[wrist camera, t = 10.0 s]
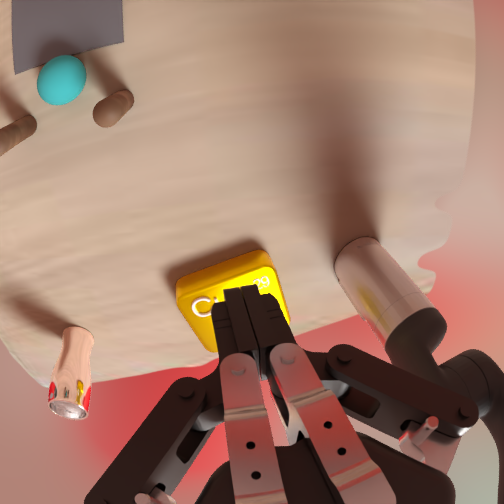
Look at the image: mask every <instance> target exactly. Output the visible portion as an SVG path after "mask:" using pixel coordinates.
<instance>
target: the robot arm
mask: <svg viewBox="0 0 504 504" xmlns="http://www.w3.org/2000/svg"><path fill="white" fill-rule="evenodd" d="M335 273H336V275H337V277H338V278H339V284H340V285H341V287H342V289H343V290H344V292H345V293H346V295H347V296H348V298H349V299H350V301H351V302H352V304H353V305H354V307H355V309H356V310H357V312H358V313H359V315H360V316H361V318H362V319H363V320H366V321H367V323H368V324H369V326H370V327H371V329H372V331H373V332H374V333H375V335H376V337H377V338H378V340H379V341H380V343H381V345H382V346H383V348H384V350H385V351H386V353H387V354H388V356H389V358H390V360H391V363H392V364H390V363H387V362H385V361H383V360H381V359H379V358H377V357H374V356H372V355H370V354H368V353H366V352H363V351H361V350H359V349H357V348H355V347H353V346H351V345H347V344H340V345H336V346H334V347H332V348H331V349H330V350H329V352H328V353H321V352H310V351H306V350H304V349H302V348H301V347H300V346H299V345H298V344H297V343H296V341H295V339H294V336H293V334H292V332H291V329H290V327H289V325H288V322H287V320H286V318H285V316H284V313H283V311H282V309H281V306H280V304H279V301H278V299H277V298H276V297H274V296H273V295H272V294H271V293H265V294H260V291H259V289H258V286H257V284H256V283H255V284H250V285H245V286H240V287H234V288H228V289H223V293H224V300H225V301H222V302H216V303H214V304H213V306H212V309H211V318H212V323H213V328H214V333H215V339H216V344H217V349H218V354H219V364H218V366H217V368H216V369H215V371H214V372H213V373H211V374H210V375H208V376H206V377H204V378H202V379H200V380H198V379H196V378H192V377H184V378H180V379H178V380H176V381H175V382H174V383H173V384H172V385H171V386H170V388H169V389H168V390H167V391H166V393H165V394H164V395H163V397H162V398H161V399H160V401H159V402H158V403H157V405H156V406H155V407H154V409H153V410H152V411H151V413H150V414H149V415H148V416H147V418H146V419H145V420H144V422H143V423H142V424H141V426H140V427H139V428H138V430H137V431H136V432H135V434H134V435H133V436H132V438H131V439H130V440H129V441H128V443H127V444H126V445H125V447H124V448H123V449H122V450H121V452H120V453H119V454H118V456H117V457H116V458H115V460H114V461H113V462H112V464H111V465H110V466H109V467H108V469H107V470H106V471H105V473H104V474H103V475H102V477H101V478H100V479H99V480H98V482H97V483H96V484H95V485H94V487H93V488H92V489H91V490H90V492H89V493H88V494H87V496H86V497H85V500H84V504H177V503H176V501H175V500H174V499H173V498H172V497H171V494H172V493H173V491H174V490H175V488H176V487H177V485H178V484H179V483H180V481H181V479H182V478H183V477H184V475H185V474H186V472H187V470H188V469H189V468H190V466H191V465H192V463H193V461H194V460H195V458H196V457H197V455H198V454H199V452H200V451H201V449H202V448H203V446H204V445H205V443H206V441H207V439H208V438H209V437H210V435H211V433H212V432H213V430H214V429H215V426H217V425H218V424H220V423H222V422H225V430H226V438H227V446H228V453H229V461H227V462H225V463H224V464H222V465H221V466H220V467H219V468H218V469H217V470H216V471H215V472H214V473H213V474H212V475H211V477H210V478H209V480H208V482H207V484H206V485H205V487H204V489H203V490H202V492H201V494H200V496H199V497H198V499H197V501H196V502H195V504H455V488H454V485H453V483H452V481H451V480H450V478H449V477H448V476H447V472H448V470H449V468H450V465H451V463H452V460H453V458H454V455H455V453H456V450H457V447H458V445H459V442H460V439H461V437H462V435H463V434H464V433H466V431H468V430H469V429H470V428H471V427H472V426H473V425H474V424H475V423H476V422H477V420H478V419H479V418H480V419H481V420H482V421H483V422H484V423H485V425H486V426H487V428H488V429H489V431H490V433H491V434H492V436H493V438H494V440H495V443H496V445H497V449H498V453H499V485H498V504H504V373H503V372H502V370H501V369H500V368H499V367H498V365H497V364H496V363H495V362H494V361H493V360H492V359H491V358H490V357H489V356H488V355H486V354H485V353H484V352H482V351H479V350H476V349H470V350H467V351H464V352H462V353H461V354H459V355H457V356H455V357H453V358H451V359H450V360H448V361H446V362H445V363H443V364H441V365H439V366H438V365H437V364H436V362H435V360H434V358H433V356H432V353H433V351H434V350H435V349H436V348H437V347H438V346H439V344H440V343H441V341H442V340H443V338H444V335H445V333H446V330H447V324H446V321H445V319H444V318H443V316H442V315H441V314H440V313H439V311H438V310H437V309H436V308H435V306H434V305H433V304H432V303H431V301H430V300H429V299H428V298H427V297H426V295H425V294H424V293H423V292H422V291H421V290H420V288H419V287H418V286H417V285H416V284H415V283H414V281H413V280H412V279H411V278H410V277H409V276H408V275H407V273H406V272H405V271H404V270H403V269H402V268H401V267H400V265H399V264H398V263H397V262H396V261H395V260H394V259H393V258H392V257H391V255H390V254H389V253H388V252H387V251H386V250H385V249H384V248H383V247H382V246H381V245H380V244H379V242H378V241H377V240H375V239H373V238H370V237H362V238H358V239H356V240H354V241H352V242H350V243H349V244H348V245H346V246H345V247H344V248H343V249H342V251H341V252H340V253H339V255H338V257H337V259H336V262H335ZM260 377H261V380H267V379H268V382H269V385H270V394H271V397H272V400H273V402H274V404H275V407H276V409H277V412H278V414H279V416H280V418H281V421H282V423H283V426H284V428H285V431H286V434H287V439H288V442H289V445H290V446H279V447H278V446H274V442H273V437H272V432H271V427H270V423H269V418H268V414H267V410H266V408H265V405H264V400H263V395H262V391H261V385H260ZM346 414H347V415H349V416H350V417H352V418H354V419H357V420H358V421H361V422H363V423H364V424H367V425H369V426H371V427H373V428H375V429H377V430H379V431H381V432H383V433H385V434H388V435H390V436H392V437H394V438H396V439H398V440H399V446H400V449H401V450H402V452H403V453H405V454H406V455H405V454H403V453H401V452H399V451H397V450H395V449H393V448H391V447H389V446H387V445H385V444H383V443H381V442H379V441H377V440H375V439H374V438H371V437H370V436H368V435H365V434H363V433H360V432H356V431H355V430H354V428H353V426H352V425H351V423H350V421H349V419H348V417H347V415H346ZM407 455H408V456H407Z"/></svg>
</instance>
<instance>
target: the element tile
mask: <svg viewBox="0 0 504 504" xmlns="http://www.w3.org/2000/svg"><path fill="white" fill-rule="evenodd" d="M255 283H256V284H257V286H258V289H259V291H260V294H265V293H271V294H272V295H273V296H274V297H276V298H277V299H278V301H279V304H280V306H281V309H282V311H283V313H284V316H285V318H286V320H287V322H288V325H289V324H290V315H289V312H288V308H287V305H286V301H285V298H284V295H283V291H282V288H281V285H280V281H279V278H278V275H277V271H276V269H275V267H274V265H273V262H272V260H271V258H270V256H269V255H268V254H267V253H266V252H265V251H263V250H255V251H251V252H248V253H246V254H243V255H240V256H237V257H235V258H232V259H229V260H227V261H224V262H221V263H219V264H216V265H213V266H210V267H208V268H205V269H202V270H200V271H197V272H194V273H191V274H189V275H186V276H184V277H182V278H180V279H179V280H178V281H177V282H176V302H177V307H178V308H179V310H180V311H181V313H182V314H183V316H184V318H185V319H186V321H187V322H188V324H189V325H190V327H191V328H192V330H193V331H194V333H195V334H196V336H197V337H198V339H199V340H200V342H201V343H202V344H203V346H204V347H205V349H206V350H208V351H210V352H218V349H217V344H216V339H215V333H214V328H213V323H212V318H211V309H212V306H213V304H214V303H216V302H222V301H225V300H224V293H223V289H228V288H234V287H240V286H245V285H250V284H255Z"/></svg>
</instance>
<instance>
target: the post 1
mask: <svg viewBox="0 0 504 504" xmlns="http://www.w3.org/2000/svg"><path fill="white" fill-rule="evenodd" d="M36 128H37V122H36V120H35V118H34V117H32V116H25V117H23V118H21V119H19V120H17V121H15V122H13V123H11V124H9V125H7V126H5V127H3V128H2V129H0V156H2V155H3V154H4V153H6V152H7V151H8V150H10V149H11V148H13V147H14V146H16V145H17V144H19V143H20V142H22V141H23V140H25V139H26V138H28V137H29V136H31V135H32V134H33V133H34V132H35V131H36Z"/></svg>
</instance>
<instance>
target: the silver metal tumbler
mask: <svg viewBox="0 0 504 504" xmlns="http://www.w3.org/2000/svg"><path fill="white" fill-rule="evenodd" d="M93 345H94V337H93V336H92V334H91V333H90V332H89V331H87V330H86V329H84V328H81V327H77V326H71V327H68V328H66V329H65V330H64V331H63V334H62V349H61V352H60V355H59V357H58V359H57V362H56V364H55V366H54V369H53V372H52V375H51V379H50V385H49V395H48V408H49V409H50V410H51V411H52V412H53V413H55V414H56V415H58V416H60V417H63V418H66V419H71V420H83V419H85V418H87V417H88V410H89V404H90V397H91V372H90V353H91V350H92V347H93Z"/></svg>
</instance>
